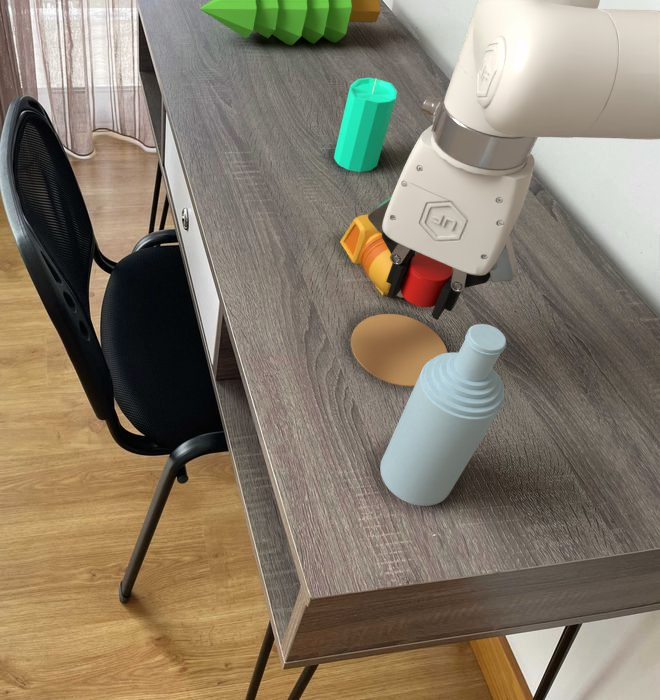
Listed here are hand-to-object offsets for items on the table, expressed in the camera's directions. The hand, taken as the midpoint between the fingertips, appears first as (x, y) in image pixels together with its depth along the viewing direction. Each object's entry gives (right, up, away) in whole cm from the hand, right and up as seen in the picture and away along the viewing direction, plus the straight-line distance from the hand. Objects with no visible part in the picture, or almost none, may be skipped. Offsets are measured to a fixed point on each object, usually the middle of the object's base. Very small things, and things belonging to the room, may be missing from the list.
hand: (418, 298), depth 71 cm
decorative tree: (-7, +47, +52) cm, 70 cm away
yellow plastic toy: (-1, +4, +14) cm, 14 cm away
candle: (0, +20, +29) cm, 35 cm away
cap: (0, 0, 0) cm, 1 cm away
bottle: (-2, -16, -5) cm, 17 cm away
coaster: (0, -5, +5) cm, 7 cm away
